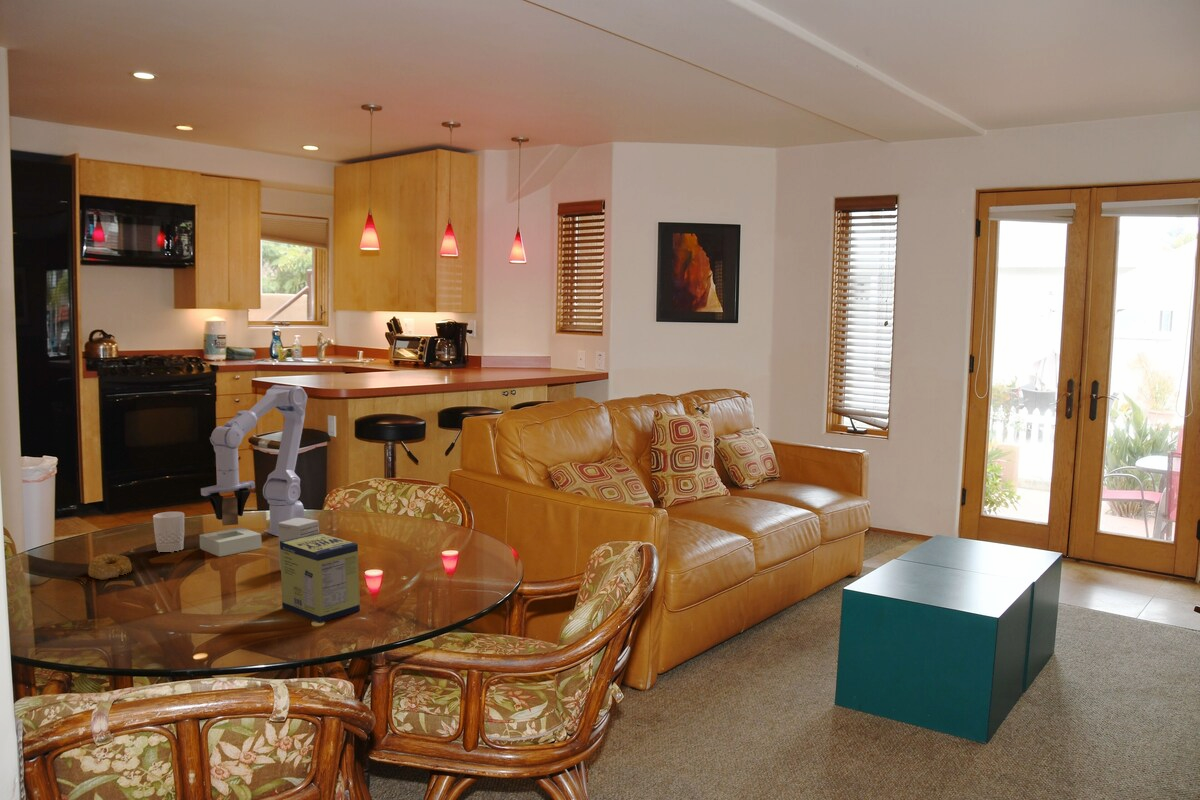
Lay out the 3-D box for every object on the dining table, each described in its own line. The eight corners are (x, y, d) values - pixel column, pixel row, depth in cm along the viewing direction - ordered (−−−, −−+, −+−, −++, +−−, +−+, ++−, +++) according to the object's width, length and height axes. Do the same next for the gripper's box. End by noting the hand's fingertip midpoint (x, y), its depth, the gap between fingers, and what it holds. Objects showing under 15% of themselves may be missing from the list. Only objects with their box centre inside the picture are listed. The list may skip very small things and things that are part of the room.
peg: (237, 521, 254) (236, 496, 253) (238, 524, 250) (237, 499, 249) (222, 522, 252) (221, 498, 251) (222, 525, 249) (221, 500, 248)
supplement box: (278, 570, 231) (276, 522, 230) (300, 563, 238) (298, 516, 237) (299, 574, 228) (297, 525, 227) (321, 567, 235) (319, 519, 233)
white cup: (177, 553, 247) (175, 518, 246) (149, 553, 247) (147, 517, 246) (191, 546, 254) (189, 511, 253) (163, 545, 255) (161, 511, 254)
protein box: (321, 596, 211) (319, 531, 209) (361, 611, 201) (359, 543, 200) (280, 608, 203) (278, 541, 201) (320, 623, 193) (318, 553, 191)
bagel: (82, 582, 222) (81, 563, 221) (94, 570, 232) (93, 552, 232) (126, 579, 224) (126, 561, 224) (136, 567, 235) (136, 550, 234)
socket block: (241, 540, 261) (240, 526, 260) (261, 548, 253) (261, 534, 252) (200, 548, 252) (199, 534, 251) (219, 556, 244) (219, 542, 243)
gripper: (245, 464, 258) (247, 510, 259) (195, 471, 247) (197, 519, 248) (257, 467, 253) (259, 514, 254) (206, 474, 242) (208, 523, 244)
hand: (229, 517), depth 251 cm, fingers closed on peg, 5 cm apart
